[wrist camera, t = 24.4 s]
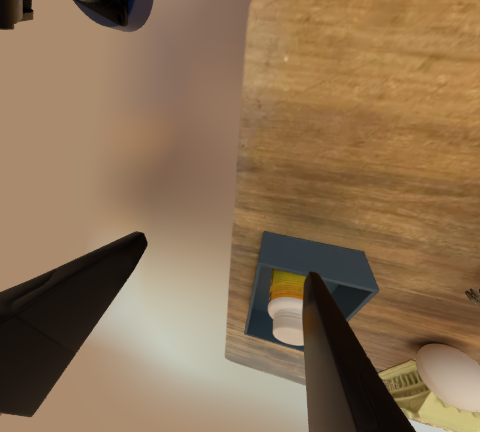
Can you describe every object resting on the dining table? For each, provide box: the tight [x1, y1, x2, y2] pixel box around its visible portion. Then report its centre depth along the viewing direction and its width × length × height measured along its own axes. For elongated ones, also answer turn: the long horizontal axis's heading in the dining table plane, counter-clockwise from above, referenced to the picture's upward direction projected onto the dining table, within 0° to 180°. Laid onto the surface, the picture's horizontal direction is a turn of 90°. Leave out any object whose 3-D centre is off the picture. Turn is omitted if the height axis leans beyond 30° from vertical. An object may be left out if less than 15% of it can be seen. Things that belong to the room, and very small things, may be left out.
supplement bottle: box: [268, 268, 307, 346], centre depth 22 cm, size 6×6×10 cm
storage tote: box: [244, 231, 379, 352], centre depth 29 cm, size 22×13×6 cm, turn 176°
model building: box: [378, 360, 480, 432], centre depth 36 cm, size 25×14×7 cm, turn 83°
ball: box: [416, 344, 480, 412], centre depth 28 cm, size 8×8×8 cm
